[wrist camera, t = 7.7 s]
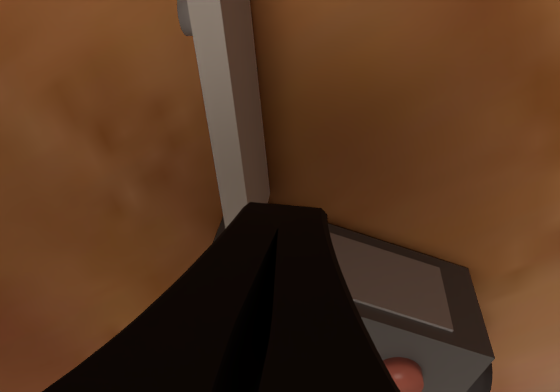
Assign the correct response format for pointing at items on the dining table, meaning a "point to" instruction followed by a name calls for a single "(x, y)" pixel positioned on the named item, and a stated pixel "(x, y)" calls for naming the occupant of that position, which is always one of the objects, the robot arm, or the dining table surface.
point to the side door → (230, 98)
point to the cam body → (416, 314)
